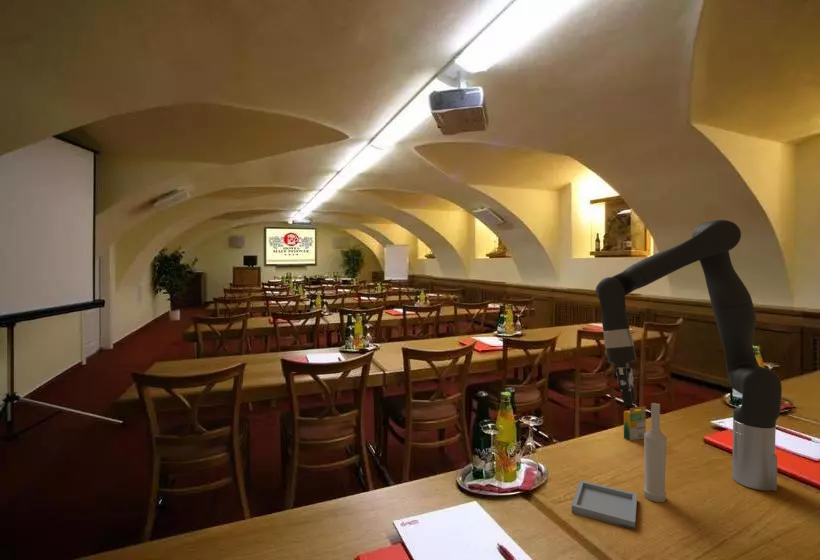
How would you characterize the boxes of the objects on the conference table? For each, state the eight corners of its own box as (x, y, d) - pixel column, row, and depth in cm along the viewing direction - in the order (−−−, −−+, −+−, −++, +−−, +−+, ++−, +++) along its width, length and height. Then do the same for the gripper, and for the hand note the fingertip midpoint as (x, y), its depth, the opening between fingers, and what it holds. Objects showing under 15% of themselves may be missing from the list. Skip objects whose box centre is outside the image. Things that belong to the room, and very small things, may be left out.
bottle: (663, 493, 112) (664, 402, 111) (668, 504, 107) (669, 408, 106) (641, 490, 114) (642, 400, 113) (645, 500, 109) (646, 406, 108)
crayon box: (639, 435, 150) (639, 403, 150) (646, 438, 147) (646, 406, 147) (623, 437, 148) (623, 405, 148) (629, 441, 145) (630, 408, 145)
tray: (637, 500, 109) (637, 493, 109) (635, 529, 97) (635, 522, 97) (580, 486, 116) (580, 480, 116) (571, 512, 104) (571, 505, 104)
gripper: (631, 345, 113) (643, 406, 110) (635, 343, 125) (646, 399, 122) (601, 347, 117) (612, 407, 114) (608, 346, 129) (618, 399, 126)
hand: (629, 403), depth 118 cm, fingers open, 8 cm apart
